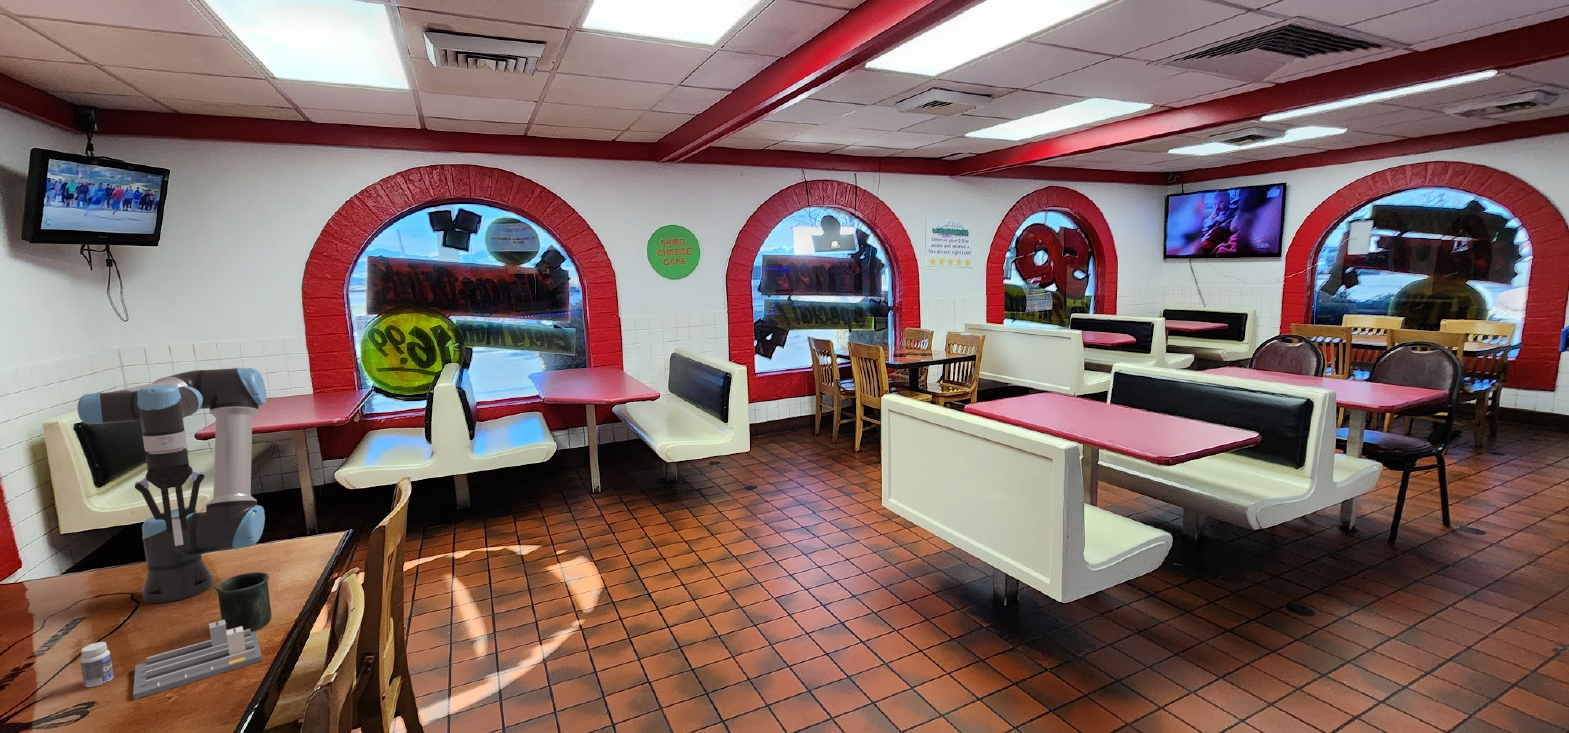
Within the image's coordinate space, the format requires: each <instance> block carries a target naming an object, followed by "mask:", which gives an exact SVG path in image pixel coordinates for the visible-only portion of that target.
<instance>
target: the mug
mask: <svg viewBox="0 0 1569 733" xmlns="http://www.w3.org/2000/svg"><path fill="white" fill-rule="evenodd" d="M269 579H270V576H269V574H268V573H266V572H259V571H258V572H247V573H242V574H238V575H234V576H231V577H229V578H226V579H224V580H222V581H221V582H219V583H218V584H217V585H216V586H215V587H214V588H215V589H214V590H215V591H216V592H217V595H218V603H219V609H220V610H219V611H220V617H221V620H220V621H222V620H225V623H226V630H230V629H233V628H237V627H241V626H242V627H243V631H244V630H248V629H250V632H254V631H257V630H259V629H261V628H264V627H265V626H266V625H269V623H270V622H271V620H272V617H273V614H272V608H271V599H270V592H269V591H270V590H269V582H268V580H269Z"/></svg>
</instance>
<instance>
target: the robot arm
mask: <svg viewBox="0 0 1569 733" xmlns="http://www.w3.org/2000/svg"><path fill="white" fill-rule="evenodd" d="M267 398H268V396H267V388H266V385H265V382H264V379H263V376H262V375H261V373H260V372H259V371H258V370H257V369H256V368H254V367H253V368H252V367H235V368H233V367H231V368H220V369H199V370H198V369H197V370H190V371H185V372H184V371H183V372H180V373H176V374H172V375H169V376H163V377H160V378H157V379H156V380H154V381H153V382H152V383H149V384H144V385H138V386H134V387H129V388H124V389H120V390H114V391H108V392H95V393H86V394H83V395H82V396H80V398H79V399H78V402H77V415H78V418H79V419H80V420H81V422H82V423H84V424H85V425H86V424H87V425H95V424H96V425H103V424H114V423H116V424H117V423H127V422H140V425H141V430H142V434H141V435H142V441H143V448H144V452H146V454H145V462H146V467H147V468H146V469H147V472H146V474H145V478H143V479H142V480H140V481H136V482H135V483H134V488H135V490H137V491H138V492H139V493H141V494H142V497H143V498H144V501H145V502H146V504H147V506H148V508H149V511H150V512H151V514H152V516H151V517H149V518H148V519H146V520H145V521H144V522H143V524H142V526H141V530H142V532H141V533H142V536H141V539H142V542H143V548H144V554H145V560H146V566H147V574H146V577H145V581H144V584H143V588H142V593H141V594H142V599H143V602H144V603H149V604H164V603H171V602H175V601H181V600H184V599H187V598H191V597H193V596H195V595H196V596H197V595H198V594H201V593H203V592H206V591H207V590H208V589H210V588H211V587H212V586H213V585H214V579H213V575H212V573H211V571H210V570H209V568H208V566H207V565H206V563H205V561H203V556H202V554H207V553H214V552H215V553H217V552H222V551H223V552H224V551H228V550H229V551H230V550H239V549H244V548H249V547H253V546H254V545H256V544H257V543H258V542H259V540H260V539H261V537H262V535H263V531H264V527H265V521H266V515H265V509H264V507H263V506H261V505H258V504H257V503H258V500H257V499H256V498H255V497H253V495H251V494H252V492H251V491H252V490H251V489H252V488H251V487H252V486H251V485H252V481H251V480H252V450H253V448H252V447H253V446H252V445H253V444H252V443H253V442H252V441H253V418H254V416H256V415H257V414H258V413H259V410H260V409H259V407H260V406H264V405H265V404H266V403H267ZM200 409H201V410H202V409H209V414H210V415H211V416H213V417H214V418H215V436H214V438H215V440H214V463H213V464H214V466H213V467H214V470H213V471H214V473H213V498H212V499H210V501H208V503H206V506H205V507H206V508H205V511H202V512H197V509H196V508H197V501H198V496H199V490H200V484H201V483H202V482H203V480H204V478H205V473H204V472H202V471H200V472H199V471H195V470H194V469H193V467H192V466H191V465H190V459H189V454H188V453H189V452H188V449H187V448H185V447H186V446H188V445H187V438H186V430H185V424H184V423H185V422H184V418H187V417H190V416H192V415H194V414H195V413H196V412H198V411H199V410H200ZM190 476H191V480H192V487H191V492H190V493H191V494H190V496H189V497H190V498H189V503H188V506H185V501H184V500H185V499H184V494H183V492H184V491H183V485H184V484H185V483H186V482H187V480H188V479H189V478H190ZM149 483H151V484H152V485H154V486H155V487H156V488H157V489H159V490H160V494H161V500H162V508H163V512H161V511H160V508H159V507H158V505H157V503H156V501H155V499H154V497H153V495H152V493H151V492H150V489H149V487H150V484H149ZM171 488H172V489H173V488H174V489H175V490H174V491H175V496H176V502H177V508H176V509H175V508H174V509H171V502H170V493H169V489H171Z"/></svg>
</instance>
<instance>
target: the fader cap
mask: <svg viewBox="0 0 1569 733" xmlns="http://www.w3.org/2000/svg"><path fill="white" fill-rule="evenodd" d="M226 633H227V641H228V649H229V655H234V654H237V653H240V652H244V651H246V648H245V640H244V632H243V627H242V626H241V627H237V628H233V629H230V630H226Z"/></svg>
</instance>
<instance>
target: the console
mask: <svg viewBox="0 0 1569 733" xmlns="http://www.w3.org/2000/svg"><path fill="white" fill-rule="evenodd" d="M208 626H209V627H208V628H209V634H210V639H209V640H206V641H201V642H197V643H195V644H194V643H193V644H192V645H188V646H187V645H186V646H184V647H180V648H176V649H173V650H169V651H165V652H162V653H159V654H156V655H151V656H148V657H146V661H144V662H142V663H138V664H136V665H134V680H133V692H132V695H133V696H132V697H133V700H134V699H135V700H139V699H141V698H140V697H142V698H144V697H143V696H145V697H149V696H151V695H154V694H158V693H161V692H164V691H167V690H170V689H174V688H178V687H181V686H184V685H186V684H190V683H194V682H197V681H201V680H204V679H206V678H210V677H213V676H216V675H220V674H223V673H226V672H230V671H232V670H235V669H239V668H242V667H246V666H249V665H252V664H255V663H259V662H263V656H262V655H263V654H262V650H261V648H260V644H259V640H258V636H257V630H255V631H252V632H250V629H248V630H244V631H243V632H244V640H245V648H246V651H244V652H240V653H237V654H234V655H229V649H228V641H227V633H226V623H225V620H219V621H214V622H211V623H208ZM138 698H139V699H138Z"/></svg>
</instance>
